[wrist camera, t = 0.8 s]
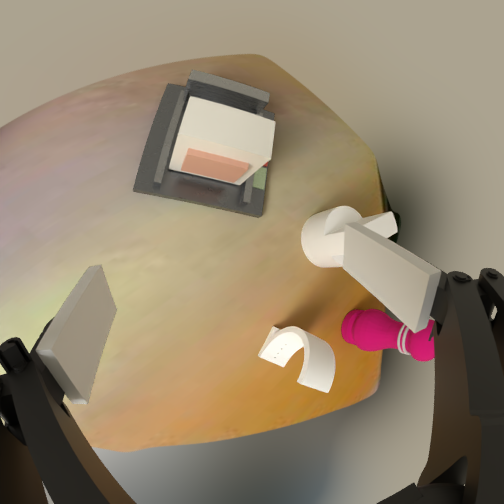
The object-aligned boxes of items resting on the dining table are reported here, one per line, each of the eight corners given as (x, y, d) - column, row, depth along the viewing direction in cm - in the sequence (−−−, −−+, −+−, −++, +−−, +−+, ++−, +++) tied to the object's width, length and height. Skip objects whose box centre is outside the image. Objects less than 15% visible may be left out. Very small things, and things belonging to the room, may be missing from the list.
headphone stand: (257, 355, 38) (300, 383, 27) (276, 319, 39) (324, 335, 28) (281, 365, 39) (327, 393, 28) (298, 331, 41) (350, 348, 30)
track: (133, 191, 33) (131, 177, 28) (167, 87, 35) (172, 65, 30) (258, 217, 39) (276, 209, 34) (271, 116, 42) (287, 99, 36)
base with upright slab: (333, 206, 45) (385, 190, 34) (350, 255, 46) (403, 251, 34) (293, 222, 42) (343, 206, 30) (312, 276, 42) (366, 276, 31)
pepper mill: (355, 298, 45) (453, 305, 27) (372, 323, 47) (463, 337, 28) (332, 329, 43) (432, 352, 25) (351, 353, 45) (443, 380, 26)
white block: (167, 174, 33) (176, 140, 24) (177, 136, 34) (190, 96, 25) (238, 190, 37) (270, 165, 27) (244, 154, 37) (275, 121, 28)
